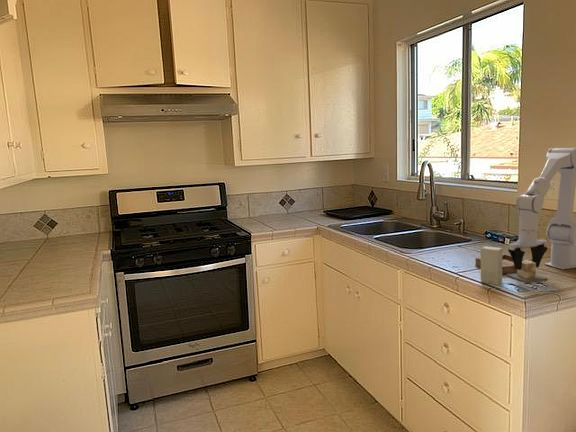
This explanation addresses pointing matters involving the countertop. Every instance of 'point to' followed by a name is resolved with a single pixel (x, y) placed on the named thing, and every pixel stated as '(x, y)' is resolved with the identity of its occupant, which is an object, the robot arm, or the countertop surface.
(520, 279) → the mat
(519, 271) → the maple block
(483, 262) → the skincare box
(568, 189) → the robot arm
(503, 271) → the slot box
